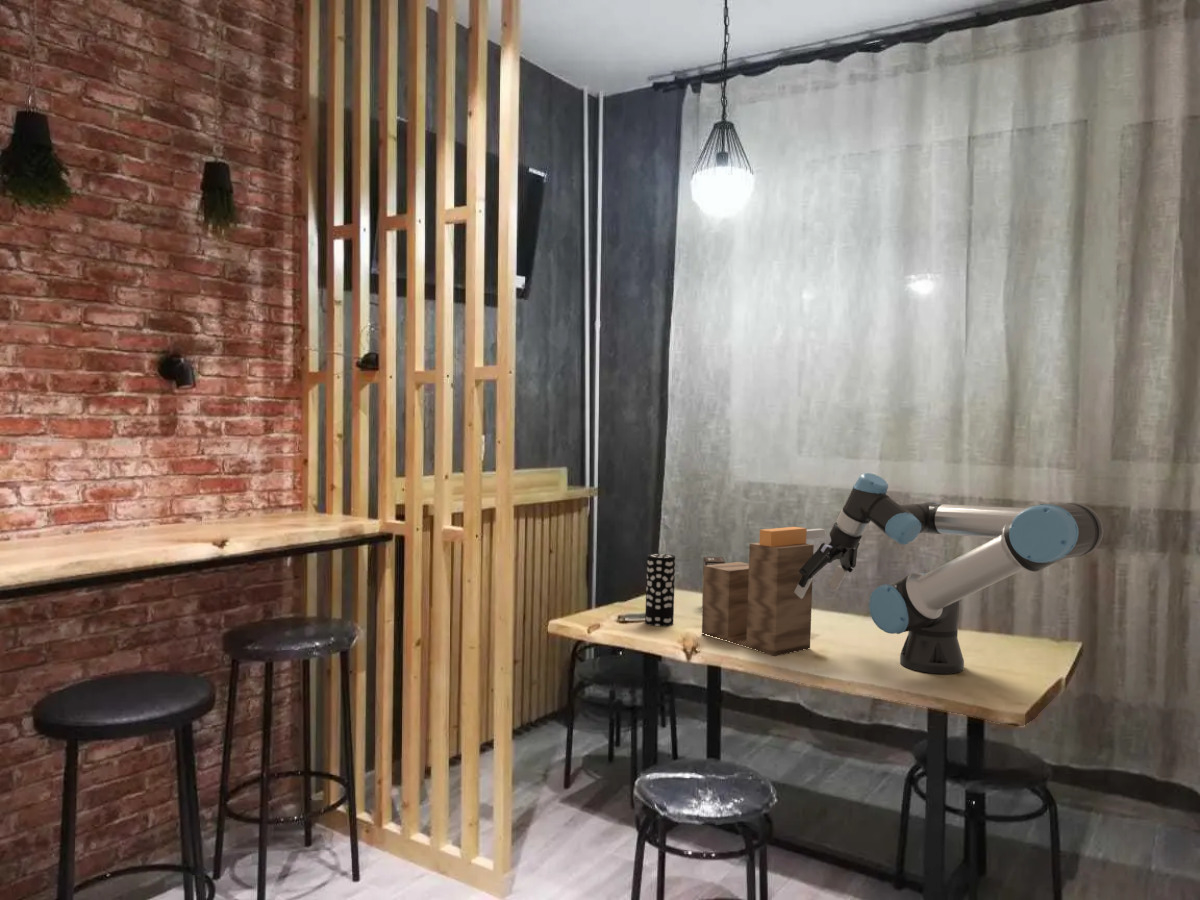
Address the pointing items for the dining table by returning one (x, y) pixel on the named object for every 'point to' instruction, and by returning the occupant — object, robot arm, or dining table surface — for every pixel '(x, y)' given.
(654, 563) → the white-spotted black cylinder
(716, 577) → the stepped wooden block
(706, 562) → the coffee box
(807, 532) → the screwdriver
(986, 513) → the robot arm
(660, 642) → the dining table surface
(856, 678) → the dining table surface
